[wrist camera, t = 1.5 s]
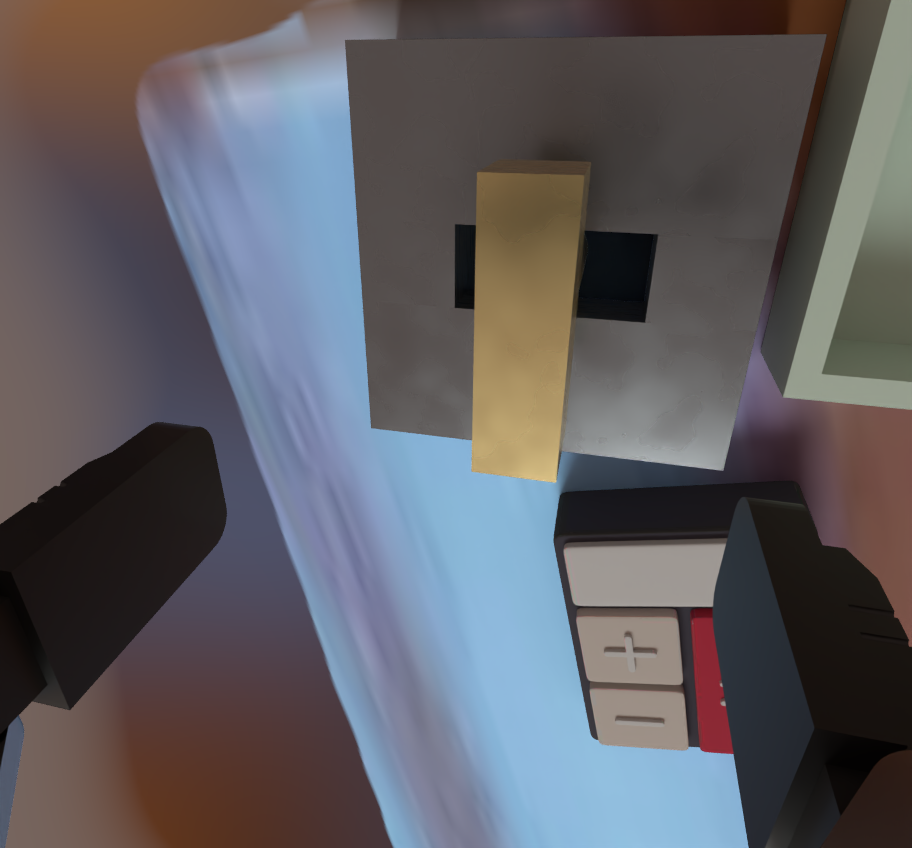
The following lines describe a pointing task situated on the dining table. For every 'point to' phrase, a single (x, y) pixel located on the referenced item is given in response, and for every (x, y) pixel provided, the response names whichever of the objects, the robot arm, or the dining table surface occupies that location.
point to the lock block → (608, 209)
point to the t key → (526, 312)
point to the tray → (853, 227)
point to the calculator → (651, 607)
